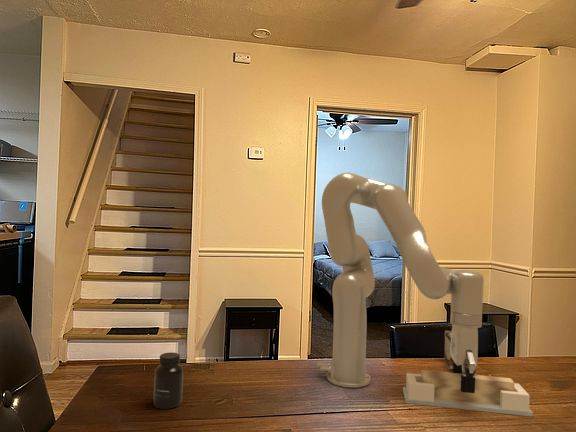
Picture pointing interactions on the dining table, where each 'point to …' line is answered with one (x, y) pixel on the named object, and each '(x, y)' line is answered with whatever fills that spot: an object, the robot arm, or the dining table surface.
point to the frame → (425, 396)
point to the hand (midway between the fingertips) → (463, 384)
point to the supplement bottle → (168, 381)
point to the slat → (451, 390)
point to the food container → (448, 350)
